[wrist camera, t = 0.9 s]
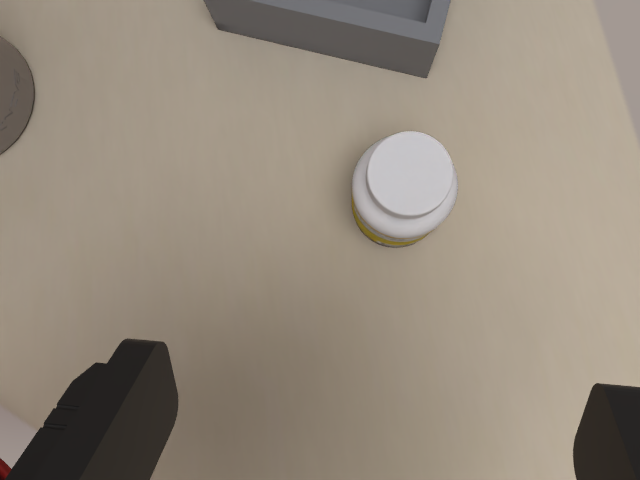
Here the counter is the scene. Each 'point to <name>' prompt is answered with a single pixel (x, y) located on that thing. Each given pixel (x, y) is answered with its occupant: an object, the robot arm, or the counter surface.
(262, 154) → the counter surface
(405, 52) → the tote
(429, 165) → the supplement bottle
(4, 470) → the plant pot
